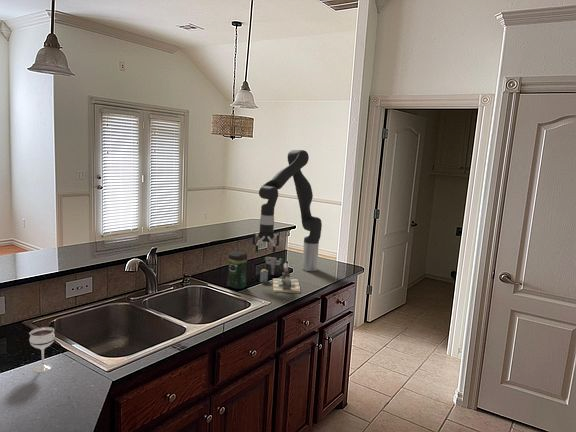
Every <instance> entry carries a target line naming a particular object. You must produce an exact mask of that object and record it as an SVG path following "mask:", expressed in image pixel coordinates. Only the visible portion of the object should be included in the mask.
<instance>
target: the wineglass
mask: <svg viewBox="0 0 576 432" xmlns="http://www.w3.org/2000/svg"><path fill="white" fill-rule="evenodd" d="M28 333H29V334H28V335H30V336H29V340H28V341H29V344H30V346H32V347H33V348H35V349H38V350H40V351H41V353H40V354H41V365H38V366H35V367H34V368H33V371H34V372H35V373H46V372H48V371H50V370H51V369H53V365H52V364H50V363H49V364H48V363H47V364H44V363H45V349H46V348H48V347H49V346H51V345H52V344H53V343H54V342H55V339H56V335H55V328H54V327H50V326H44V327H37V328H35V329H32V330H31V331H30V332H28Z"/></svg>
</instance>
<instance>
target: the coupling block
mask: <svg viewBox="0 0 576 432" xmlns="http://www.w3.org/2000/svg"><path fill="white" fill-rule="evenodd" d="M268 275H269V270H268V269H266V268H264V269H263V268H262V269H260V277H259V283H265V284H266V283H268V280H269V279H268Z"/></svg>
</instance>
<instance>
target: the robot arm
mask: <svg viewBox="0 0 576 432" xmlns="http://www.w3.org/2000/svg"><path fill="white" fill-rule="evenodd" d="M309 160H310V158H309V153H308V152H307V151H306V150H304V149H293V150H290V151H288V153H287V163H288V165H287V166H285V167H284V168H281V170H279V171H278V172H277V173H276V174H275V175H274V176H273V177H272V179H270V180H268V181H267V182H266V183H264V184H263V185H261V186H260V188H259V191H258V195H259V197H260V198H261V199H263V200H267V202H266V203H263V204H261V207H260V208H261V209H260V219H259V233H256V232H253V236H252V237H253V238H252V245H254V246H255V252H256V253H259V244H260V243H261V242H263V243H270V244H271V245H272V254H274V253H275V252H276V247H279V245H280V235H279V233H277V234H275V233H274V229H275V227H274V225H275V207H276V205H277V204H276V203H277V201H278V197H279V191H278V190H281V189H282V188H283V187H284V186H285V184H286V183H287V182H288V181H289V180H290V179H291V178H292V179H293V182H294V186H295V191H296V196H297V200H298V205H299V210H300V218H301V225H302V228H303V229H304V230H305V231H308V232H309V235H308V236H305V237H304V239H303V250H302V264H301V266H302V267H301V270H303V271H306V272H317V270H318V260H319V259H318V257H319V244H320V240H321V236H322V235H321V234H322V226H323V225H322V223H323V222H322V220H321V218H320V217H319V216H318V217H316V216H313V215H312V212H311V204H312V202H313V197H314V196H313V194H314V193H313V189H312V185H311V183H310V181H309V180H308V179H307V177H306V176H305V175H304V174H303V172H302V169H303V168H304V167H305V166H306V165H307V164H308V163H309ZM258 237H259V239H258V241H256V238H258ZM274 237H275V239H276V243H275V241H274V240H273V239H274Z"/></svg>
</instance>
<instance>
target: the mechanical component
mask: <svg viewBox="0 0 576 432" xmlns="http://www.w3.org/2000/svg"><path fill="white" fill-rule="evenodd" d="M264 261H265V263H266V265H270V268H271V275H272V276H274V275H275V268H276V266H280V265H281V264H282V262H283V258H279V259H277V258H276V257H273V256H266V257H264Z"/></svg>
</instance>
